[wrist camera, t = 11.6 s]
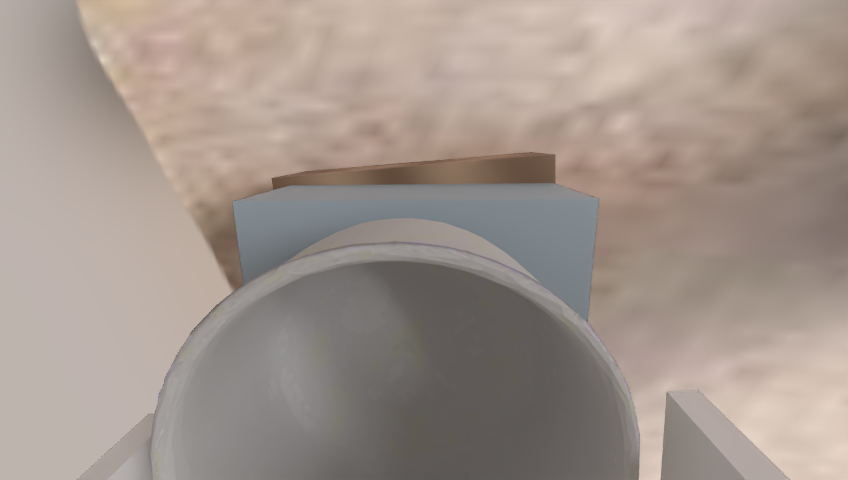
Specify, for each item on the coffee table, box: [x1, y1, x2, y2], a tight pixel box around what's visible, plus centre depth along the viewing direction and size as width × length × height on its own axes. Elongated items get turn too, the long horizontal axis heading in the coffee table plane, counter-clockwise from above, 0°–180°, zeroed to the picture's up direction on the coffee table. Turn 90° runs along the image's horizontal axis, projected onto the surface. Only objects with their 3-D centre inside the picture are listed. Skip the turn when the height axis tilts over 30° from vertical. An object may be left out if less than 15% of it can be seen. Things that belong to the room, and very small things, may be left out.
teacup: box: [150, 218, 640, 480], centre depth 13 cm, size 14×11×8 cm
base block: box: [272, 152, 555, 190], centre depth 25 cm, size 15×15×6 cm
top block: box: [232, 183, 599, 322], centre depth 19 cm, size 14×14×6 cm
